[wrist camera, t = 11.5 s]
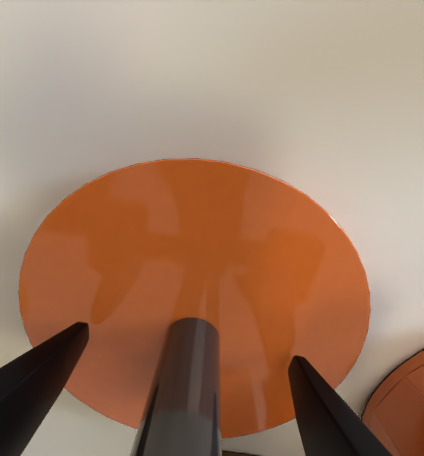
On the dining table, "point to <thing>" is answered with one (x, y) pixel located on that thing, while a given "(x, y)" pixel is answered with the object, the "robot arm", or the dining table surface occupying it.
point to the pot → (399, 409)
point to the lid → (195, 299)
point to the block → (233, 454)
